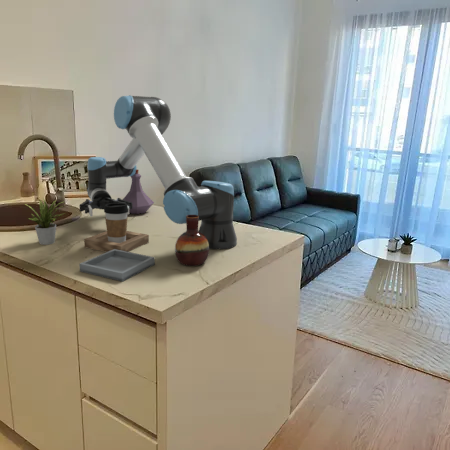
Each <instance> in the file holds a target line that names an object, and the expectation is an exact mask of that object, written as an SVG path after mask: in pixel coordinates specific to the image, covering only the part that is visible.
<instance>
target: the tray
mask: <svg viewBox="0 0 450 450" xmlns="http://www.w3.org/2000/svg"><path fill="white" fill-rule="evenodd" d="M155 262H156V261H155V256H151V255H146V254H142V253H141V254H140V253H136V252H132V251H129V252H127V251H122V250H117V249H113V250H111V251H108V252H104V253H102V254H99V255H97V256H94V257H92V258H89V259H87V260H85V261H82V262H80V263H79V264H78V265H79V272H80V273H84V274H89V275H93V276H97V277H101V278H106V279H111V280H114V281H117V280H118V282H125V281H126V280H129V279H130V278H132V277H134V276H136V275H137V274H139V273H142V272H144V271H146V270H148V269H149V268H152V267H153V266H155V264H156V263H155Z"/></svg>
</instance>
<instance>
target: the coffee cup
mask: <svg viewBox="0 0 450 450" xmlns="http://www.w3.org/2000/svg"><path fill="white" fill-rule="evenodd" d="M127 212H128V206H127V204H126V203H110V204H106V205H105V208H104V209H103V213H105V217H104V219H105V227H106V228H105V229H106V231H107V235H108V241H110V242H115V243H121V242H124V241H126V231H128V230H127V229H128V228H127V227H128V219H129V218H128V214H127Z"/></svg>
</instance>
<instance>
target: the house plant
mask: <svg viewBox="0 0 450 450" xmlns="http://www.w3.org/2000/svg"><path fill="white" fill-rule="evenodd" d="M42 200H43V202H42ZM56 201H58V199H56V200H53V202H52V203H51V205H49V206H48V203H47V201H46V200H45V198H42V199H39V202H38V203H39V213H40V215H39V214H38V212H37V210H35V208H33V207H32V206H30V205H28V204H26V203H24V205H25V206H27V207H29V209H30V210H31V211H33V212H34V214H35V215H34V214H33V213H30V214H31V217H29V218H27V219H28V220H31V221H34V222H36V224H37V225H35V226H34V229H35V232H36V235H37V239H38V243H39V244H40V245H45V246H46V245H52V244H54V243H56V232H57V224H56V223H55V221H57V219H58V218H59V217H60V216H61V217H62V216H63V215H64V214H65V215H66V212H65V213H60V214H56V212H57V210H59V209H60V208H64V207H65V206H59V205H61V204H63V203H64V201H61V202H58V203H56ZM58 206H59V207H58ZM57 207H58V208H57ZM54 214H55V215H54Z"/></svg>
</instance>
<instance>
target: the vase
mask: <svg viewBox="0 0 450 450" xmlns="http://www.w3.org/2000/svg"><path fill="white" fill-rule="evenodd" d="M199 223H200V221H199V216H198V215H187V216H186V224H185V225H186V229H185V231H184V232H182V233H181V234H180V235H179V236H178V237H177V239H176V242H175V244H174V253H175V256H176V260H177V261H178V262H179V263H180V264H181V265H184V266H186V267H187V266H189V267H196V266H201V265H203V264H204V263H205V262H206V261H207V260H208V256H209V253H210V249H209V243H208V240H207V238H206V237H205V236H204V235H203V234H202V233H200V232H199Z"/></svg>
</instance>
